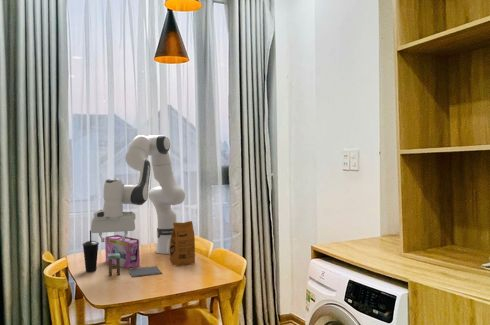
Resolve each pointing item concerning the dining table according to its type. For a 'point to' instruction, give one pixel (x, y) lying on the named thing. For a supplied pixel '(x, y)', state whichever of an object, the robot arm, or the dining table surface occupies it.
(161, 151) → the robot arm
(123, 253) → the gum box
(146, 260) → the dining table surface
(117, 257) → the stool
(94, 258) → the drinking cup
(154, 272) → the mat
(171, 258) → the coffee package
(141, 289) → the dining table surface
